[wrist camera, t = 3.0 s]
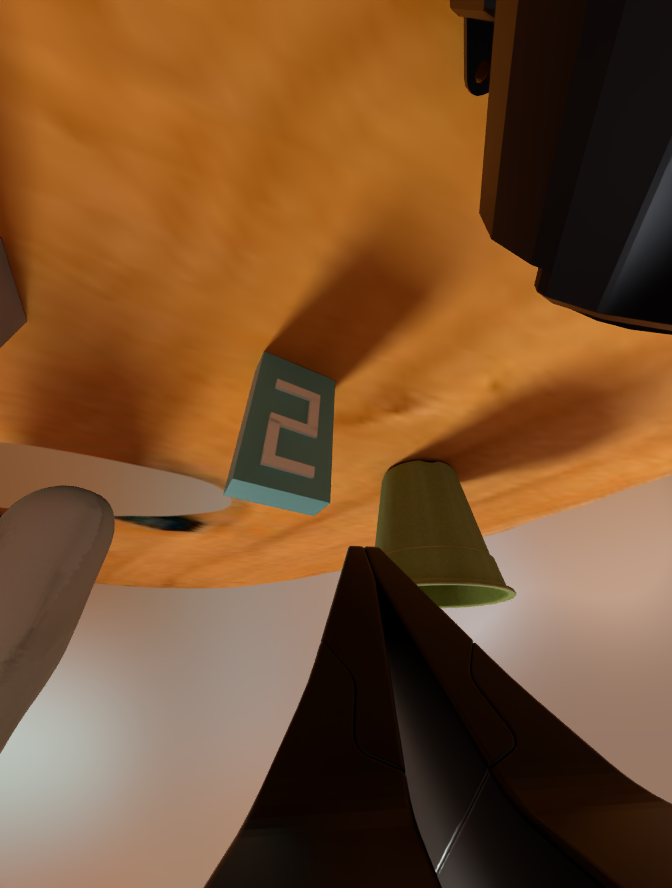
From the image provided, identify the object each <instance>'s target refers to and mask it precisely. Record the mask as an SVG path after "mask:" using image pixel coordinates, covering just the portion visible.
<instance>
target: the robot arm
mask: <svg viewBox="0 0 672 888" xmlns="http://www.w3.org/2000/svg"><path fill="white" fill-rule="evenodd" d="M450 8H451V9H452V10H453V11H454V12H455V13H456V14H457V15H458V16H460V17H464V80H465V86H466V88H467V89H468V91H469V92H470V93H471V94H474V95H476V96H480V95H484V94H486V93H489V98H488V110H487V123H486V135H485V148H484V160H483V173H482V185H481V198H480V210H479V214H480V216H481V218H482V220H483V222H484V224H485V226H486V229H487V231H488V233H489V235H490V237H491V239H492V240H494V241H495V242H497V243H498V244H500V245H501V246H503V247H504V248H506V249H508V250H509V251H511V252H512V253H514V254H515V255H517V256H518V257H520V258H521V259H523V260H525V261H526V262H528V263H529V264H531V265H533V266H536V267H539V268H538V272H537V276H536V280H535V284H534V285H535V288H536V291H537V292H538V293H539V294H541V295H542V296H543V297H545V298H546V299H547V300H549V301H550V302H551V303H553V304H556V305H559V306H562V307H566V308H569V309H572V310H574V311H576V312H578V313H581V314H583V315H585V316H587V317H590V318H592V319H594V320H597V321H600V322H604V323H608V324H612V325H616V326H619V327H623V328H627V329H631V330H639V331H647V332H655V333H662V334H670V335H672V0H450ZM486 59H487V60H488V61H489V65H490V67H489V72H488V74H487V76H486V78H485V79H484V80H483V81H482V82H478V83H477V82H476V79H475V74H476V69H477V67H478V66H479V64H480V63H481V62H482V61H483V60H486ZM204 888H672V804H671V803H669V802H667V801H665V800H663V799H661V798H660V797H657V796H656V795H654V794H652V793H651V792H649V791H648V790H646V789H644V788H643V787H641V786H640V785H638V784H637V783H635V782H634V781H633V780H631V779H630V778H628V777H627V776H626V775H624V774H623V773H622V772H620V771H619V770H618V769H617V768H615V767H614V766H613V765H612V764H610V763H609V762H608V761H607V760H606V759H604V758H603V757H602V756H601V755H600V754H599V753H597V751H595V750H594V749H593V748H592V747H591V746H590V745H588V744H587V743H586V742H585V741H583V739H581V738H580V737H579V736H578V735H577V734H576V733H574V732H573V731H572V730H571V729H570V728H569V727H567V726H566V725H565V724H564V723H563V722H562V721H560V720H559V719H558V718H557V717H556V716H555V715H553V714H552V713H551V712H550V711H549V710H547V708H545V707H544V706H543V705H542V704H541V703H540V702H538V701H537V700H536V699H535V698H534V697H533V696H532V695H531V694H529V693H528V692H527V691H526V690H525V689H524V688H523V687H522V686H520V685H519V684H518V683H517V682H516V681H515V680H514V679H513V678H511V677H510V676H509V675H508V674H507V673H506V672H505V671H504V670H503V669H502V668H501V667H500V666H499V665H498V664H497V663H496V662H495V661H494V660H493V659H491V658H490V657H489V656H488V655H487V654H486V653H485V652H484V651H483V650H482V649H481V648H480V647H479V646H478V645H477V644H476V643H473V640H472V639H471V638H470V637H469V636H468V635H467V634H466V633H465V632H464V631H463V630H462V629H461V628H460V627H459V626H458V625H457V624H456V623H455V622H454V621H453V620H452V619H451V618H450V617H449V616H448V615H447V614H446V613H445V612H444V611H443V610H442V609H441V608H440V607H439V606H438V605H437V604H436V603H435V602H434V601H433V600H432V599H431V598H430V597H429V596H428V595H427V594H426V593H425V592H424V591H423V590H422V589H421V588H420V587H419V586H418V585H417V584H416V583H415V582H414V581H413V580H412V579H411V578H409V577H408V576H407V575H406V574H405V573H404V572H403V571H402V570H401V569H400V568H399V567H398V566H397V565H396V564H395V563H394V562H393V561H392V560H391V559H390V558H389V557H388V556H387V555H386V554H385V553H384V552H383V551H382V550H381V549H380V548H379V547H365V548H363V547H362V546H350V547H349V548H348V551H347V554H346V558H345V561H344V565H343V568H342V571H341V575H340V579H339V582H338V585H337V588H336V592H335V595H334V599H333V602H332V605H331V609H330V613H329V616H328V619H327V622H326V626H325V630H324V633H323V636H322V639H321V644H320V646H319V649H318V652H317V656H316V659H315V663H314V665H313V668H312V671H311V674H310V677H309V680H308V683H307V686H306V688H305V690H304V693H303V695H302V697H301V700H300V702H299V705H298V707H297V710H296V712H295V714H294V716H293V719H292V721H291V723H290V725H289V727H288V729H287V732H286V734H285V736H284V738H283V741H282V743H281V745H280V747H279V749H278V752H277V754H276V756H275V758H274V761H273V763H272V765H271V767H270V769H269V772H268V774H267V776H266V778H265V781H264V783H263V785H262V787H261V789H260V791H259V794H258V795H257V797H256V799H255V801H254V803H253V806H252V808H251V810H250V812H249V813H248V815H247V817H246V819H245V821H244V823H243V825H242V826H241V828H240V830H239V832H238V834H237V836H236V837H235V839H234V840H233V842H232V843H231V845H230V847H229V848H228V850H227V851H226V853H225V855H224V856H223V858H222V859H221V861H220V863H219V864H218V866H217V867H216V869H215V870H214V872H213V874H212V875H211V877H210V878H209V880H208V881H207V883H206V885H205V886H204Z"/></svg>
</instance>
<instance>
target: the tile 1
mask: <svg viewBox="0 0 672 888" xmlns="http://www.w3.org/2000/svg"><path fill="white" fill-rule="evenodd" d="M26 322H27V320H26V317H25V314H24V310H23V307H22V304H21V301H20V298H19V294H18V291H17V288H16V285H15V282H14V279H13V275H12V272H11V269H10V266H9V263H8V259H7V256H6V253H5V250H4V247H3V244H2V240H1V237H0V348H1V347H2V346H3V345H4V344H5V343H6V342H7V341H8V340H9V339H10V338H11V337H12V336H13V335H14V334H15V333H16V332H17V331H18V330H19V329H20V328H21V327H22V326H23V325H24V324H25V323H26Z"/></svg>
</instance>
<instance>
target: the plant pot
mask: <svg viewBox="0 0 672 888" xmlns="http://www.w3.org/2000/svg"><path fill="white" fill-rule="evenodd" d="M375 547H379V548H380V549H381V550H382V551H383V552H384V553H385V554H386V555H387V556H388V557H389V558H390V559H391V560H392V561H393V562H394V563H395V564H396V565H397V566H398V567H399V568H400V569H401V570H402V571H403V572H404V573H405V574H406V575H407V576H408V577H409V578H411V579H412V580H413V581H414V582H415V583H416V584H417V585H418V586H419V587H420V588H421V589H422V590H423V591H424V592H425V593H426V594H427V595H428V596H429V597H430V598H431V599H432V600H433V601H434V602H435V603H436V604H437V605H438V606H439V607H440V608H459V607H472V606H482V605H489V604H496V603H499V602H504V601H507V600H510V599H513V598H514V597H515V596H516V592H515V591H514V589H513V588H511V587H509V586H506V584H505V582H504V579H503V577H502V575H501V573H500V571H499V568H498V566H497V564H496V562H495V559H494V558H493V557H492V556H491V555H490V554H489V551H488V549H487V546H486V544H485V542H484V540H483V537H482V535H481V532H480V530H479V527H478V525H477V523H476V520H475V518H474V515H473V513H472V511H471V508H470V506H469V503H468V501H467V499H466V496H465V494H464V491H463V489H462V487H461V484H460V482H459V480H458V477H457V475H456V472H455V471H454V469H453V468H452V467H451V466H449V465H447V464H445V463H442V462H434V463H428V462H424V461H421V460H418V461H410V462H406V463H403V464H400V465H397V466H395V467H393V468H391V469H390V470H389V471H387V472H386V474H385V476H384V478H383V480H382V486H381V496H380V505H379V514H378V523H377V533H376V542H375Z"/></svg>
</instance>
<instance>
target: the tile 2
mask: <svg viewBox="0 0 672 888" xmlns="http://www.w3.org/2000/svg"><path fill="white" fill-rule="evenodd" d="M334 396H335V380H332V379H330V378H327V377H325V376H323V375H320V374H318V373H316V372H313V371H311V370H308V369H306V368H304V367H301V366H299V365H296V364H294V363H292V362H289V361H287V360H284V359H282V358H280V357H277V356H275V355H272V354H270V353H268V352H265V351H264V352H263V355H262V357H261V359H260V362H259V364H258V366H257V369H256V371H255V374H254V378H253V382H252V386H251V390H250V393H249V397H248V401H247V405H246V409H245V413H244V417H243V421H242V424H241V428H240V432H239V436H238V440H237V444H236V448H235V452H234V455H233V459H232V463H231V467H230V471H229V475H228V479H227V482H226V486H225V490H224V496H228V497H233V498H237V499H241V500H246V501H250V502H255V503H259V504H263V505H268V506H272V507H277V508H281V509H285V510H290V511H294V512H298V513H303V514H307V515H312V516H314V515H316V514H317V513H318V512H319V511H321V510H322V509H323V508H324V507H326V506H327V505H328V504H330V493H331V469H332V444H333V420H334Z"/></svg>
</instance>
